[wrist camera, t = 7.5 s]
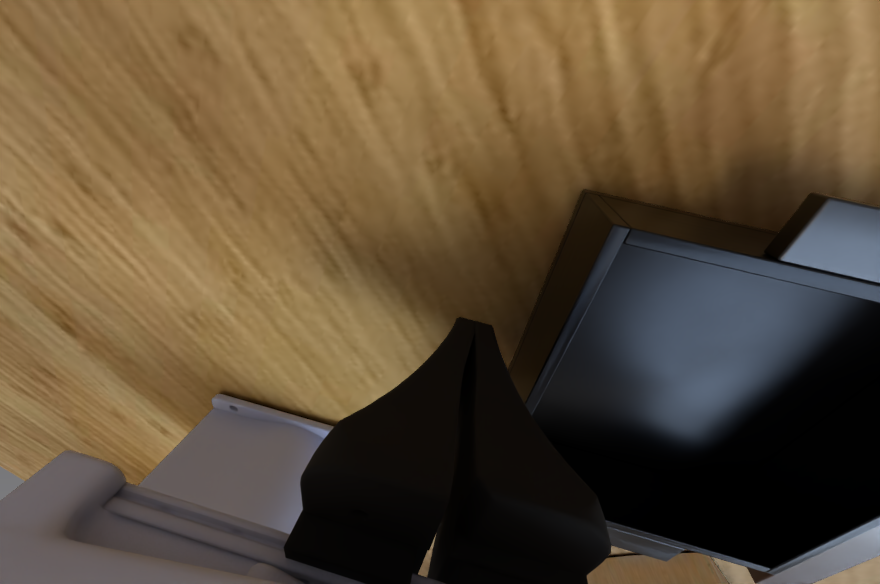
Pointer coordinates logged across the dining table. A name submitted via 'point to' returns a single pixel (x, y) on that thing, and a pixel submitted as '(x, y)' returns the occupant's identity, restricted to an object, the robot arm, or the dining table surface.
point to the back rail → (826, 561)
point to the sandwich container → (657, 570)
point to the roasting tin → (714, 376)
